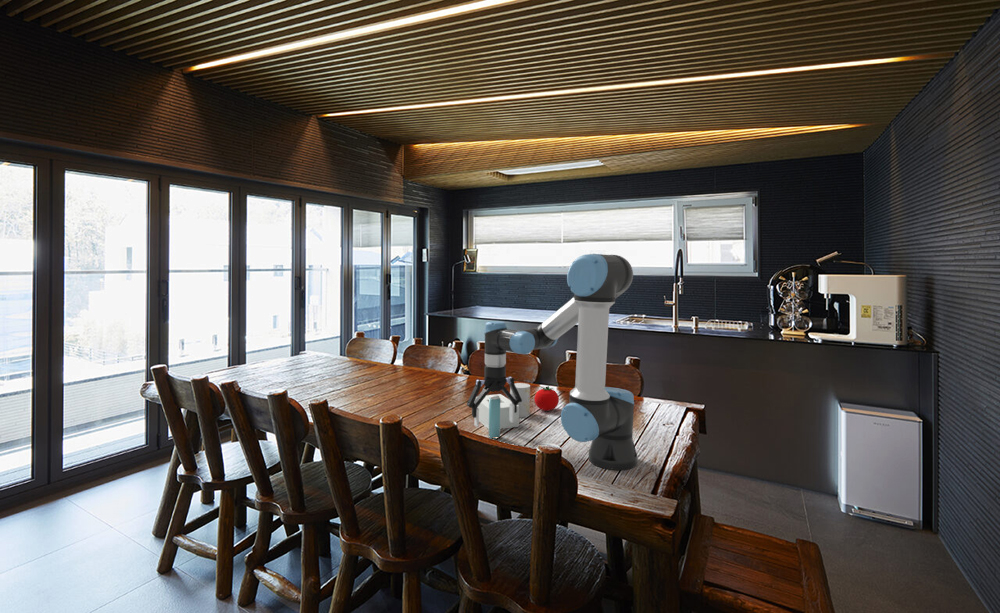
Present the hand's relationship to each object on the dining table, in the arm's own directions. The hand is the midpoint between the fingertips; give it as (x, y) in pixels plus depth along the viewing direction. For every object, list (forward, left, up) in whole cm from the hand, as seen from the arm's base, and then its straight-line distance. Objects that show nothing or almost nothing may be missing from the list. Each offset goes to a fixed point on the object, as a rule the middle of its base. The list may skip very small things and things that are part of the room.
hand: (494, 423), depth 174 cm
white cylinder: (+21, -20, -5) cm, 29 cm away
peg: (0, 0, -5) cm, 5 cm away
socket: (+16, -7, -5) cm, 18 cm away
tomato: (+22, -33, -5) cm, 40 cm away
